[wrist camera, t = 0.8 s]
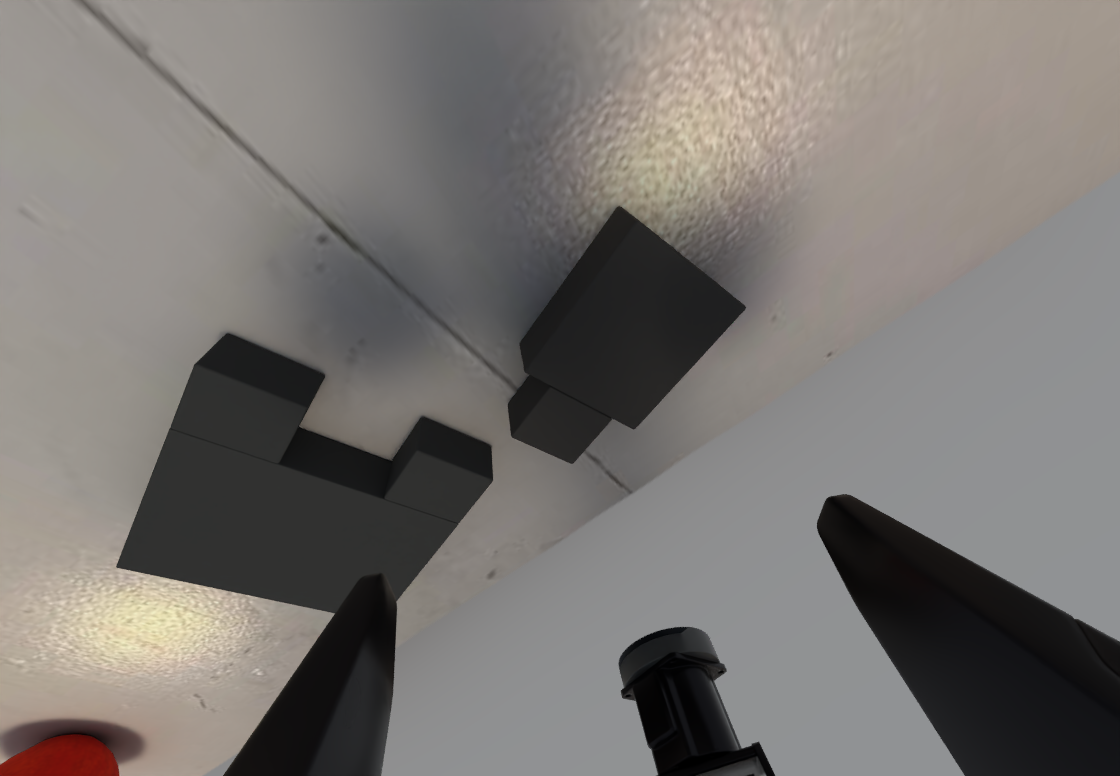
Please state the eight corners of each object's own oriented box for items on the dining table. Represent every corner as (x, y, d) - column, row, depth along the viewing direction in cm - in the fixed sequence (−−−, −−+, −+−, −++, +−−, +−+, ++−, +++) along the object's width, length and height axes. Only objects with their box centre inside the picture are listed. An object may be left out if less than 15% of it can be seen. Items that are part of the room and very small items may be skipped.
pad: (719, 285, 20) (747, 307, 18) (583, 441, 24) (594, 474, 22) (618, 204, 17) (637, 219, 15) (483, 393, 21) (484, 425, 19)
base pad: (492, 445, 23) (493, 481, 21) (386, 582, 27) (379, 622, 25) (226, 332, 18) (194, 364, 16) (148, 523, 22) (115, 567, 20)
